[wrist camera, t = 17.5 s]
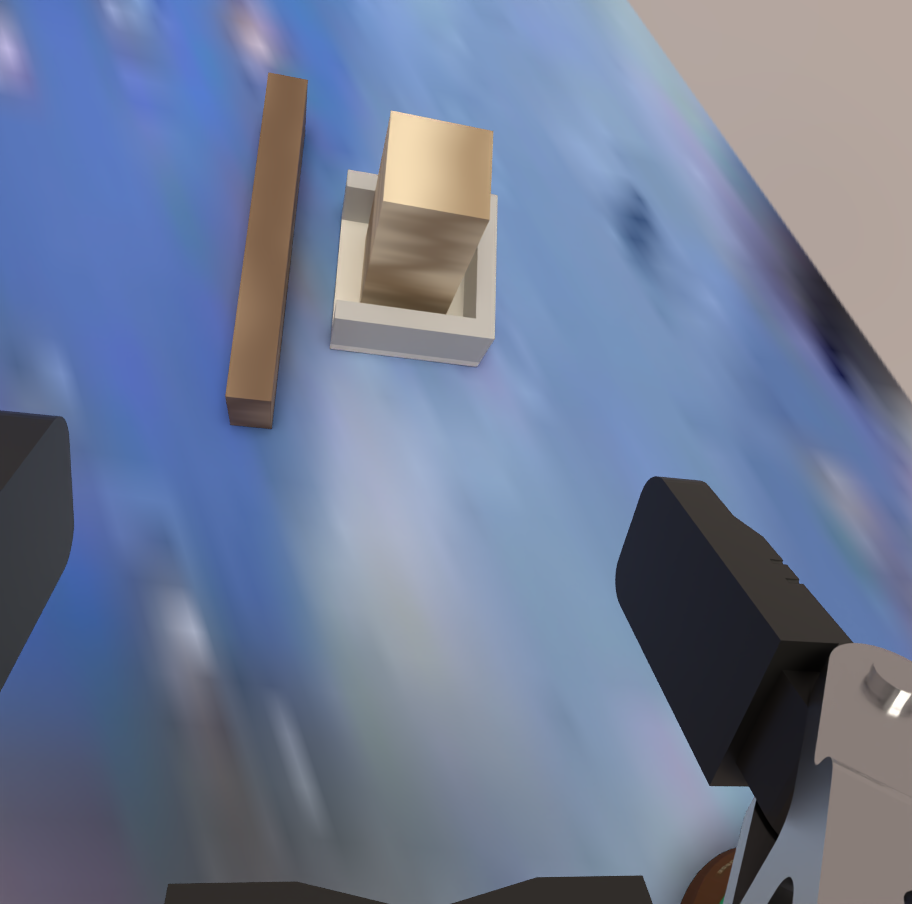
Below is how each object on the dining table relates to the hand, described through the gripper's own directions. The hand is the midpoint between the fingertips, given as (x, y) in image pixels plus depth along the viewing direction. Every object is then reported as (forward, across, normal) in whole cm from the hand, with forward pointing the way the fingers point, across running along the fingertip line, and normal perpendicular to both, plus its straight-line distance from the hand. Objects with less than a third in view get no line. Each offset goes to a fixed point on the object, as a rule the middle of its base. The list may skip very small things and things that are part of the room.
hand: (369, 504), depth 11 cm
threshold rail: (+32, +4, +6) cm, 33 cm away
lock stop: (+32, -4, +5) cm, 32 cm away
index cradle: (+32, -4, +6) cm, 33 cm away
